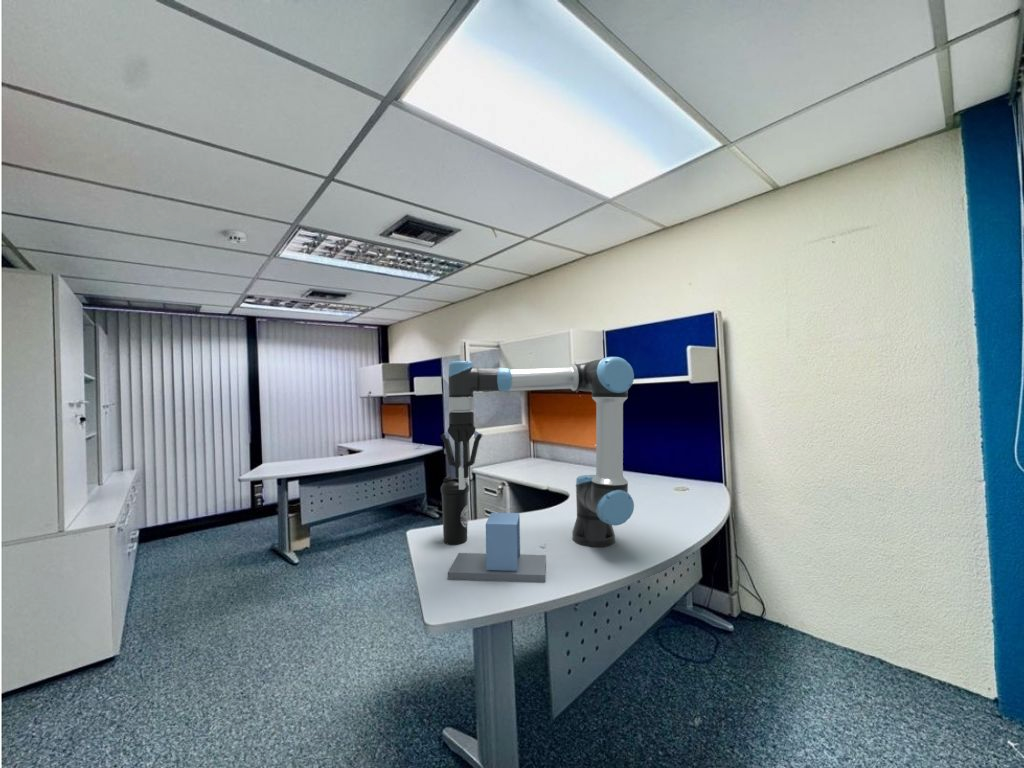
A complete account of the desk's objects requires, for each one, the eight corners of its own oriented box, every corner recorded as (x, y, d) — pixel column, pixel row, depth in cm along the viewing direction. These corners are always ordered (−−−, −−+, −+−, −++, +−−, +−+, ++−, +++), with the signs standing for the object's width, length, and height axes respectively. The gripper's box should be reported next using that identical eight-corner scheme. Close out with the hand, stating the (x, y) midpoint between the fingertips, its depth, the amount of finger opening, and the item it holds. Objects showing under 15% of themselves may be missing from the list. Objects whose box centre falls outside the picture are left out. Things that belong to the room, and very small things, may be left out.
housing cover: (520, 555, 125) (519, 513, 125) (517, 570, 114) (516, 524, 114) (491, 554, 126) (491, 512, 126) (486, 570, 115) (485, 523, 115)
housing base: (545, 561, 126) (545, 548, 126) (545, 582, 112) (545, 567, 112) (458, 559, 128) (458, 546, 128) (447, 579, 114) (447, 565, 114)
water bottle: (464, 546, 139) (463, 480, 139) (436, 545, 141) (436, 479, 141) (473, 536, 149) (472, 474, 149) (447, 534, 151) (446, 474, 151)
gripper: (484, 410, 125) (485, 485, 125) (443, 411, 127) (444, 485, 126) (480, 411, 118) (481, 491, 117) (437, 412, 119) (438, 491, 119)
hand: (462, 488), depth 122 cm, fingers closed
